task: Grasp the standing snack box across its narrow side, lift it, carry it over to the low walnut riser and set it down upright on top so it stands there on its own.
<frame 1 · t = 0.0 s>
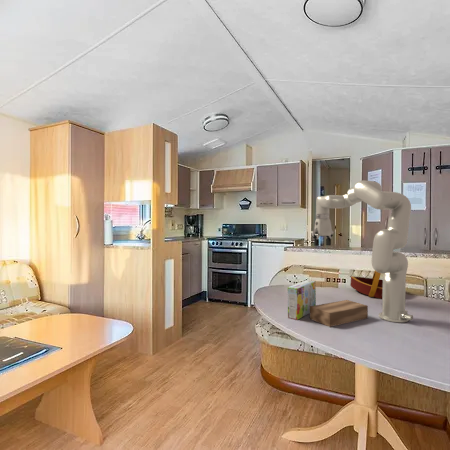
hand: (322, 245, 186), 31 cm above the table, tool pointing down, fingers open, 9 cm apart
walnut riser: (338, 318, 146), on the table
decorative basket: (374, 293, 198), on the table
snack box: (302, 314, 154), on the table
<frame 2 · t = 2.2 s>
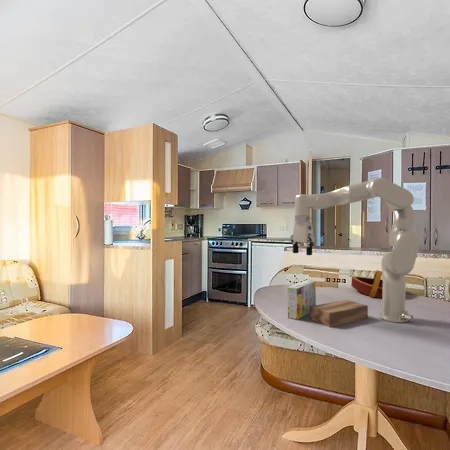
hand: (302, 254, 153), 30 cm above the table, tool pointing down, fingers open, 9 cm apart
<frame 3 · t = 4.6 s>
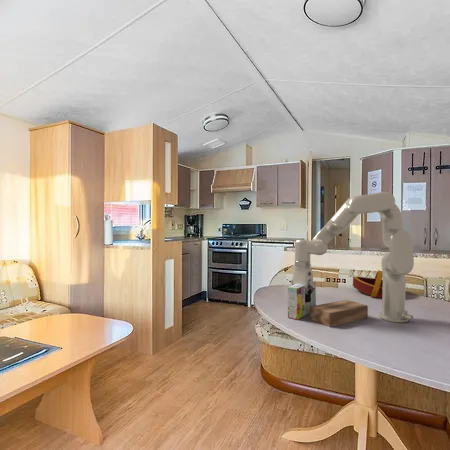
hand: (302, 299, 154), 7 cm above the table, tool pointing down, fingers closed on snack box, 7 cm apart
snack box: (302, 314, 154), on the table, touching gripper
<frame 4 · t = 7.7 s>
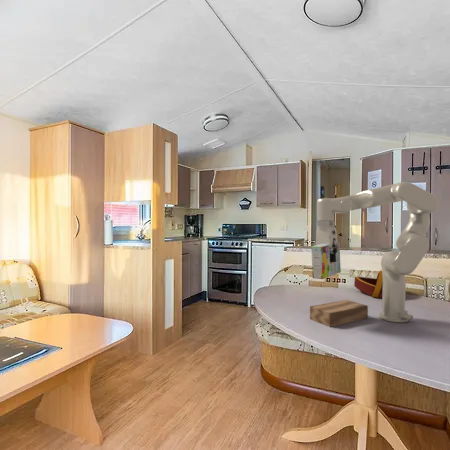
hand: (326, 260, 148), 27 cm above the table, tool pointing down, fingers closed on snack box, 7 cm apart
snack box: (327, 275, 148), point 20 cm above the table, touching gripper
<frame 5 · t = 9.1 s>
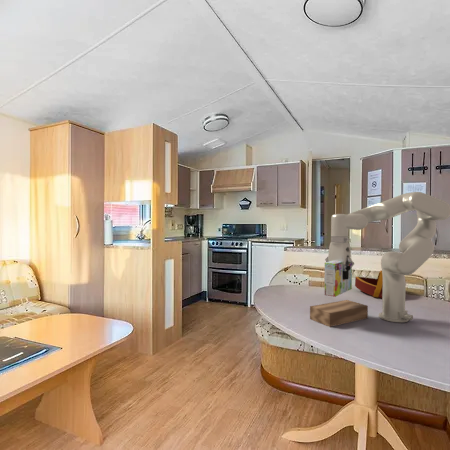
hand: (338, 277, 146), 19 cm above the table, tool pointing down, fingers closed on snack box, 7 cm apart
snack box: (338, 292, 146), point 12 cm above the table, touching gripper
when the fingers open (14 cm above the table, at t = 10.5 s): snack box drops 1 cm, resting on walnut riser.
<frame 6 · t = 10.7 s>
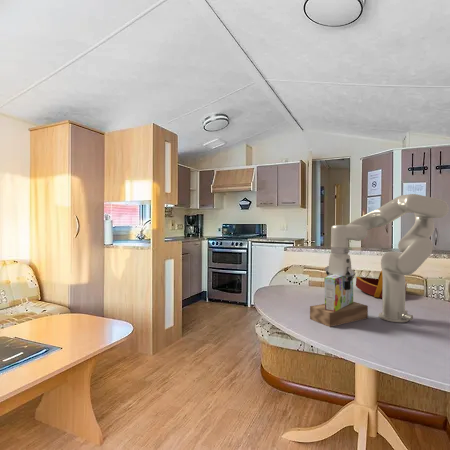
hand: (339, 287, 146), 15 cm above the table, tool pointing down, fingers open, 9 cm apart
snack box: (339, 306, 146), point 6 cm above the table, touching walnut riser
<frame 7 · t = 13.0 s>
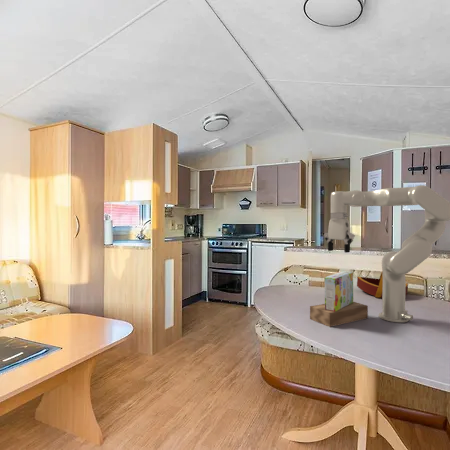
hand: (338, 251, 152), 31 cm above the table, tool pointing down, fingers open, 9 cm apart
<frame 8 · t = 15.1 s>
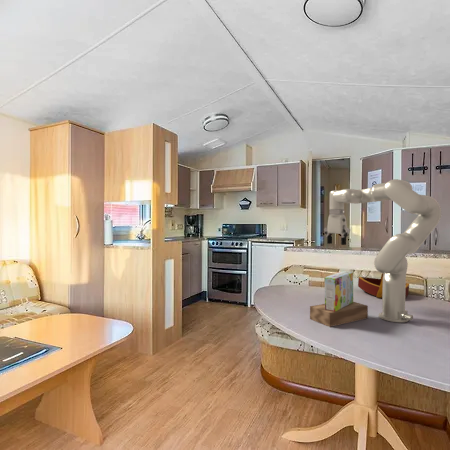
hand: (336, 244, 170), 33 cm above the table, tool pointing down, fingers open, 9 cm apart
at the end: snack box inside the target area on the walnut riser (0.2 cm from its centre), point 5.8 cm above the walnut riser's base; snack box tilted 0°; the gripper is holding nothing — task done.
